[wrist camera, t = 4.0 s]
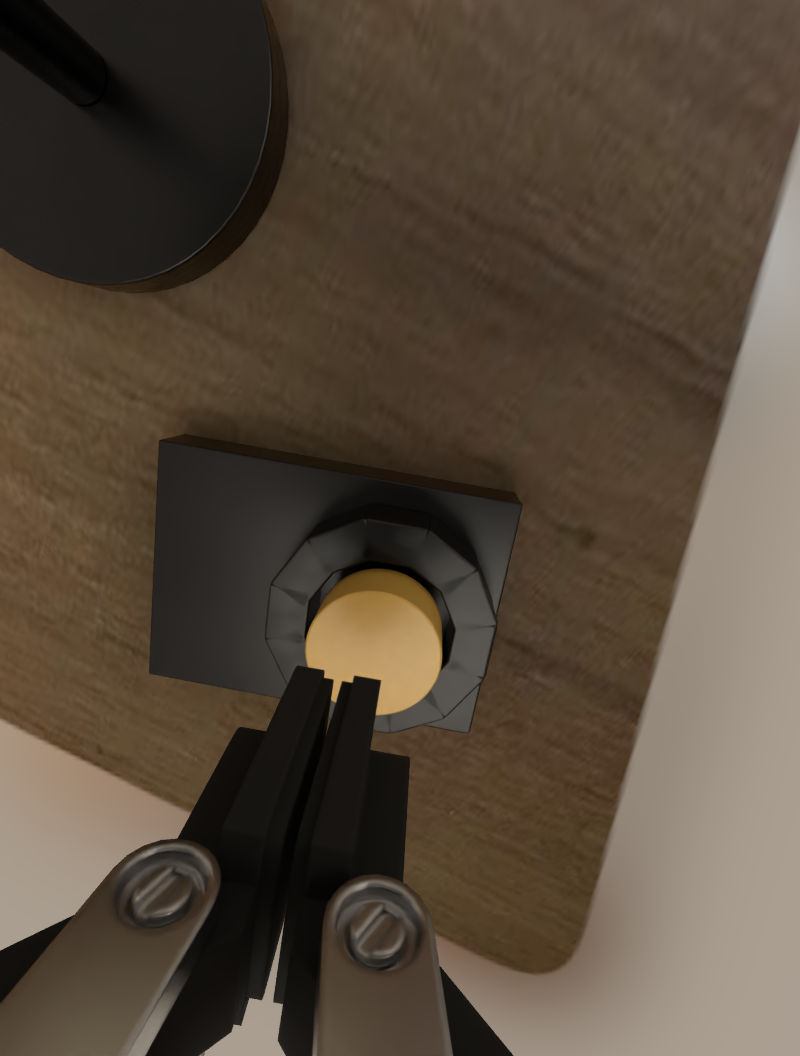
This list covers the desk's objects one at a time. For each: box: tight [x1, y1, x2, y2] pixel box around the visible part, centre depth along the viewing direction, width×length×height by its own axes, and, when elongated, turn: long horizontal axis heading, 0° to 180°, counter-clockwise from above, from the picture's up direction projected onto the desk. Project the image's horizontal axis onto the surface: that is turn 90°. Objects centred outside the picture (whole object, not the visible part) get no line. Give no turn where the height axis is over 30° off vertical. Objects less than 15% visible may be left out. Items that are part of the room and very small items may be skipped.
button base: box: [149, 434, 523, 734], centre depth 17 cm, size 11×8×4 cm
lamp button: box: [305, 569, 442, 715], centre depth 15 cm, size 4×4×2 cm
